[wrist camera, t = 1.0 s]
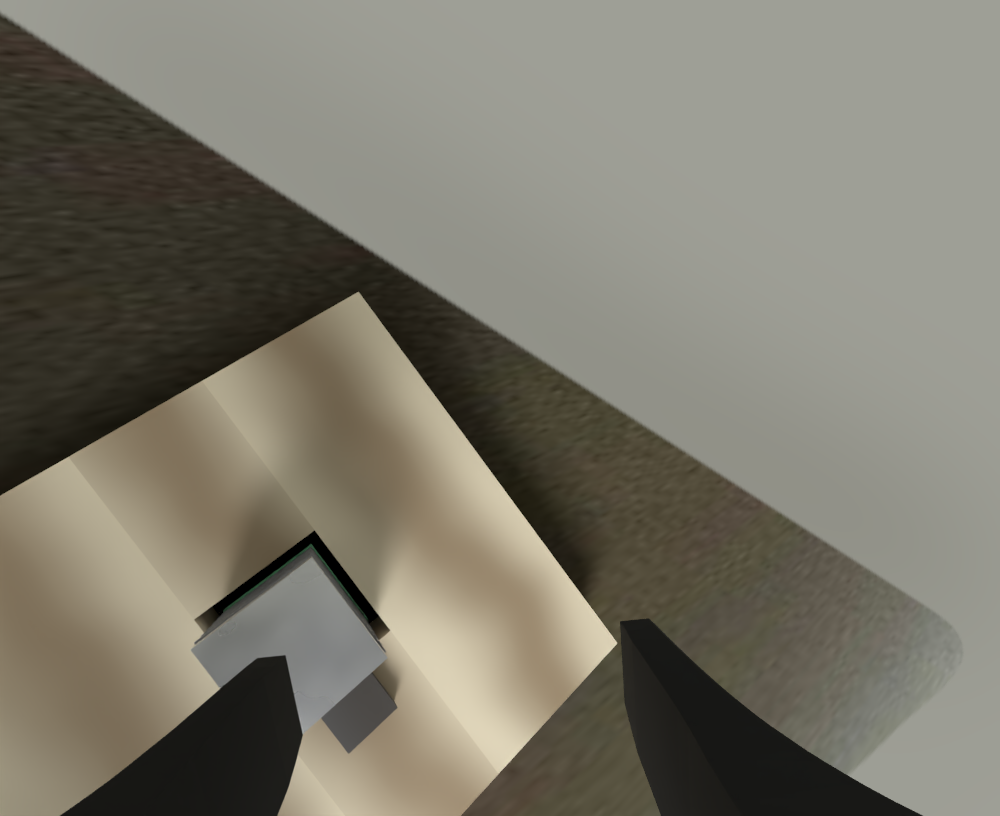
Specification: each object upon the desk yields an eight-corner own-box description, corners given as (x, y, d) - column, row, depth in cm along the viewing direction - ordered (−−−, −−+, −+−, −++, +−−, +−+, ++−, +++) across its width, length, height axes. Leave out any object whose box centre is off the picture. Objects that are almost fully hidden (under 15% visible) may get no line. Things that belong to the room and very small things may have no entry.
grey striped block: (285, 684, 21) (273, 765, 14) (225, 607, 21) (184, 649, 14) (366, 616, 23) (392, 658, 16) (311, 543, 23) (312, 552, 15)
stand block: (228, 993, 19) (206, 1117, 15) (-96, 585, 18) (-206, 602, 14) (578, 628, 26) (627, 647, 22) (352, 321, 25) (360, 283, 21)
